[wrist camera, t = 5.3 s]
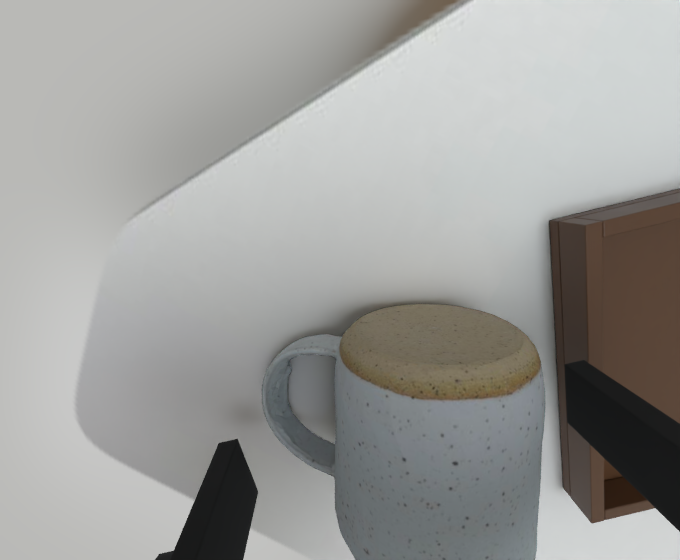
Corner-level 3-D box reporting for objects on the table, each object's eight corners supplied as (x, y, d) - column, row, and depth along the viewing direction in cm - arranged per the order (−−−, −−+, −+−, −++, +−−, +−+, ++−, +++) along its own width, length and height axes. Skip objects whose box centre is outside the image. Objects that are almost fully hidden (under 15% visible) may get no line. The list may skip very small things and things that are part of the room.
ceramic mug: (484, 288, 15) (633, 381, 8) (475, 434, 18) (585, 613, 10) (257, 305, 15) (192, 417, 8) (277, 450, 17) (241, 647, 10)
